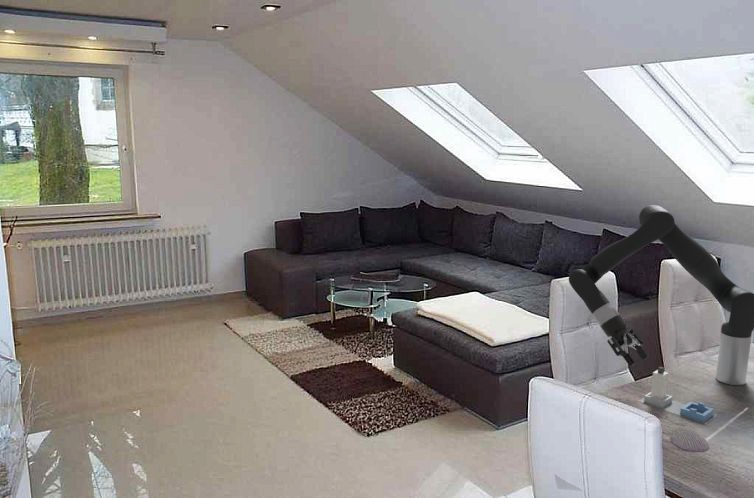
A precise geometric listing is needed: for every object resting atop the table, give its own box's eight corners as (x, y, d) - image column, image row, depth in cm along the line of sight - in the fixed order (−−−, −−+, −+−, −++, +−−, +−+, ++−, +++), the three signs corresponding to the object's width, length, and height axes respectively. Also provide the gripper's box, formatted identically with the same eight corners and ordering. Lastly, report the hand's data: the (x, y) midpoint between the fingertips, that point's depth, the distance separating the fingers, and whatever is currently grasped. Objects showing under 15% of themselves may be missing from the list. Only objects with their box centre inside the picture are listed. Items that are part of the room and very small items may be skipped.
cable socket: (637, 403, 199) (638, 393, 199) (650, 395, 205) (651, 385, 205) (705, 426, 184) (706, 415, 183) (717, 417, 190) (719, 406, 189)
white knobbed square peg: (650, 401, 199) (653, 367, 197) (655, 398, 201) (658, 364, 199) (660, 405, 196) (664, 370, 194) (665, 402, 199) (668, 368, 196)
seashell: (683, 420, 182) (716, 428, 173) (685, 439, 182) (717, 447, 173) (660, 427, 177) (692, 435, 168) (662, 447, 177) (694, 455, 168)
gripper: (606, 318, 201) (637, 361, 195) (628, 309, 210) (658, 350, 204) (590, 329, 206) (620, 372, 200) (612, 321, 215) (641, 361, 209)
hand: (639, 361), depth 202 cm, fingers open, 8 cm apart
